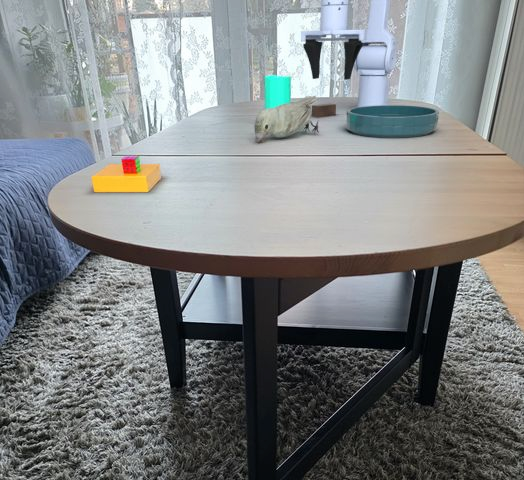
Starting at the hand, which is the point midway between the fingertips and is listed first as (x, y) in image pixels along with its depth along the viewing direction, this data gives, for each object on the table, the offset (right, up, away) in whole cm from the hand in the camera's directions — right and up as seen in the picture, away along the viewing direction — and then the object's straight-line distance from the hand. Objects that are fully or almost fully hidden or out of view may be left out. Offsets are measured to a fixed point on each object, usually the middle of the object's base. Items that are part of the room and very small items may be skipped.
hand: (331, 78), depth 114 cm
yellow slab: (-36, -36, -37) cm, 63 cm away
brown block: (+1, +1, +20) cm, 20 cm away
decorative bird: (-10, -16, -7) cm, 21 cm away
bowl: (+13, -12, -2) cm, 18 cm away
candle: (-12, -8, +6) cm, 16 cm away
